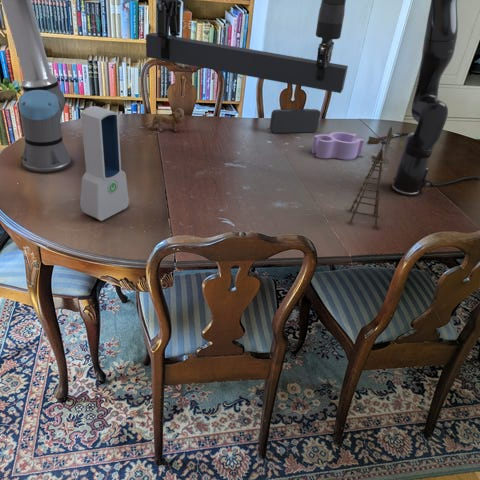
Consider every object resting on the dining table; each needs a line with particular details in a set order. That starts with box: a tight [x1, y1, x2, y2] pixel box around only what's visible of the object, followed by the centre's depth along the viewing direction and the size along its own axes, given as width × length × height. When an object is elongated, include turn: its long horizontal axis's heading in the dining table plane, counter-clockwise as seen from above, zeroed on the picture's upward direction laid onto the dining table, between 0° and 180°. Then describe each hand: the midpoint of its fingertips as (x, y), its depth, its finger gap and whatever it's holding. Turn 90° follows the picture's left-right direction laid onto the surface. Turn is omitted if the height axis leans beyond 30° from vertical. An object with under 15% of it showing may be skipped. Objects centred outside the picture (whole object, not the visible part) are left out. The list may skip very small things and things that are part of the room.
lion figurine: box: [149, 107, 185, 133], centre depth 195 cm, size 15×5×9 cm, turn 110°
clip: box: [311, 131, 366, 161], centre depth 190 cm, size 20×12×7 cm, turn 109°
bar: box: [145, 32, 349, 94], centre depth 154 cm, size 68×5×7 cm, turn 71°
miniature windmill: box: [349, 126, 393, 228], centre depth 139 cm, size 9×8×30 cm
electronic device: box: [79, 105, 130, 222], centre depth 129 cm, size 12×8×30 cm, turn 148°
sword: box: [376, 132, 410, 141], centre depth 214 cm, size 31×3×1 cm, turn 126°
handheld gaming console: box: [269, 108, 322, 134], centre depth 207 cm, size 23×3×10 cm, turn 108°
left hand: (168, 56), depth 162 cm, fingers closed on bar, 5 cm apart
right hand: (320, 78), depth 149 cm, fingers closed on bar, 5 cm apart
